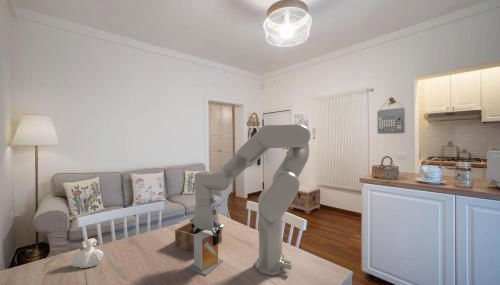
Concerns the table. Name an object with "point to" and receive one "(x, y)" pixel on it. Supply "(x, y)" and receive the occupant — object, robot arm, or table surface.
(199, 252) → the small box
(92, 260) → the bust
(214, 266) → the pad
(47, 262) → the table surface
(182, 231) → the wooden cubby frame
